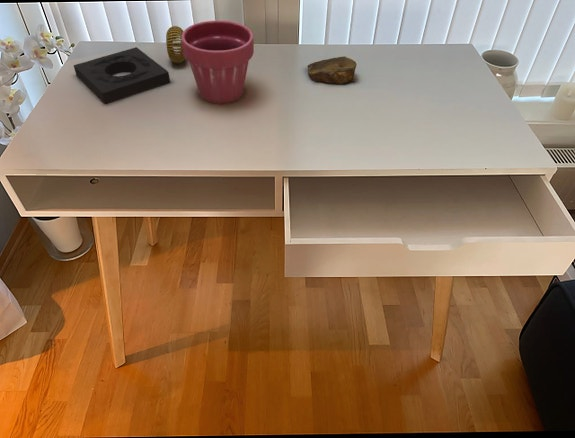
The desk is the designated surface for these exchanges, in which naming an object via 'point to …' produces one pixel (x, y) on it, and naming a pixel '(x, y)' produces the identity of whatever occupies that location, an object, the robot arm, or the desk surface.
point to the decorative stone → (333, 70)
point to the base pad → (119, 87)
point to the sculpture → (174, 44)
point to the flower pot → (218, 58)
